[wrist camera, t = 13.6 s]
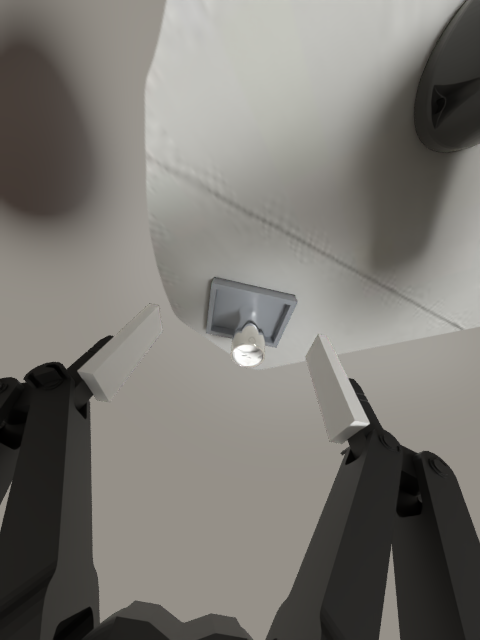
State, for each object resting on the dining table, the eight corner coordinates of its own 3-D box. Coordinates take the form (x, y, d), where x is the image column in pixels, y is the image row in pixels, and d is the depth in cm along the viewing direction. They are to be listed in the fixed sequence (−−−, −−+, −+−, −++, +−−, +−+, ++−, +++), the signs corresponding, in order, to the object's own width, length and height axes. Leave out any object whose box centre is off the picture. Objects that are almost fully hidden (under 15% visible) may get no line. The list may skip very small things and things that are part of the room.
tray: (294, 295, 41) (297, 302, 39) (275, 339, 50) (276, 347, 47) (214, 276, 40) (211, 282, 38) (208, 325, 49) (205, 333, 46)
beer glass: (264, 323, 46) (267, 367, 34) (238, 325, 47) (232, 368, 35) (262, 300, 42) (264, 341, 30) (234, 303, 43) (226, 344, 31)
